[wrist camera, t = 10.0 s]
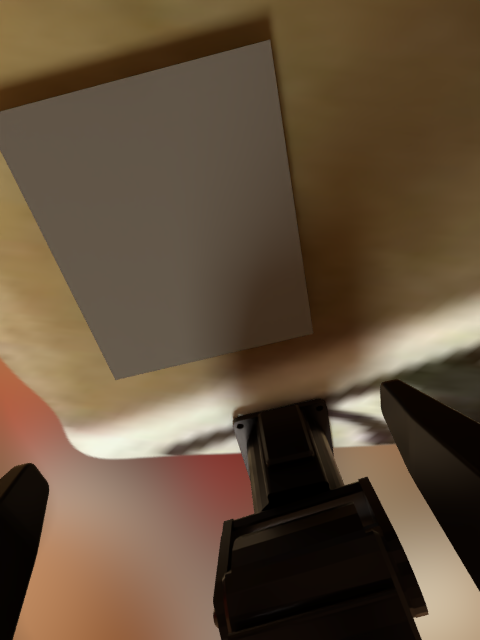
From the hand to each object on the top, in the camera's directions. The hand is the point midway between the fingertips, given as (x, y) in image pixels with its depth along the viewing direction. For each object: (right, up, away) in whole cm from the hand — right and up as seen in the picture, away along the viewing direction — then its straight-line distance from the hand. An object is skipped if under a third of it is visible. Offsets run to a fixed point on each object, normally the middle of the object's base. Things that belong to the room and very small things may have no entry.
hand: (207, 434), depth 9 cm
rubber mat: (-2, +7, +10) cm, 12 cm away
